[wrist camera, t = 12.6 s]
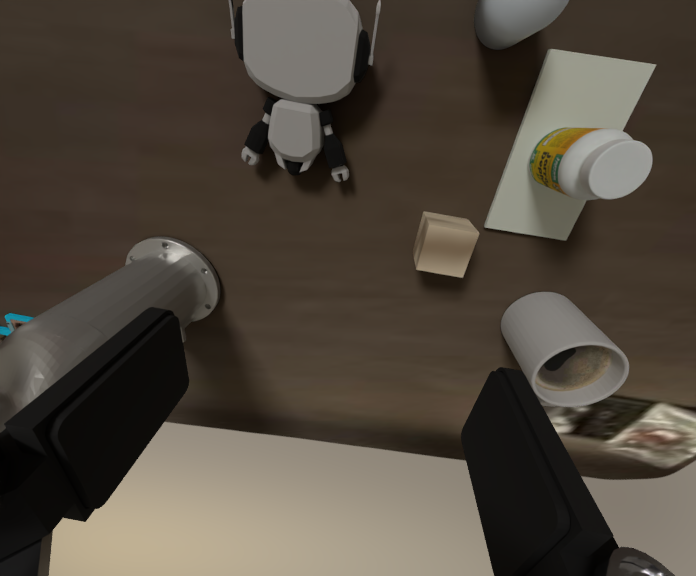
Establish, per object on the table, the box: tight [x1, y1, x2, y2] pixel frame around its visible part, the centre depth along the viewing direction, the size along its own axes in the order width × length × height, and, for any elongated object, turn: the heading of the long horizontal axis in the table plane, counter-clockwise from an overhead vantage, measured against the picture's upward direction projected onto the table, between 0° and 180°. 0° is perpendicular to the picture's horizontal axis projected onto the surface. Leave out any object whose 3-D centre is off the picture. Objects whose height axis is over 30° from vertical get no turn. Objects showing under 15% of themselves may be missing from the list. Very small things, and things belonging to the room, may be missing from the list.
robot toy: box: [229, 0, 381, 182], centre depth 29 cm, size 12×4×15 cm
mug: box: [501, 292, 629, 407], centre depth 36 cm, size 11×10×10 cm
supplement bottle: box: [528, 127, 652, 200], centre depth 26 cm, size 5×5×10 cm
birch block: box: [413, 212, 479, 278], centre depth 34 cm, size 5×5×5 cm
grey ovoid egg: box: [474, 0, 569, 50], centre depth 23 cm, size 5×5×6 cm
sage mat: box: [484, 49, 656, 241], centre depth 30 cm, size 16×9×1 cm, turn 172°
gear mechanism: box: [0, 313, 33, 338], centre depth 49 cm, size 20×5×9 cm
